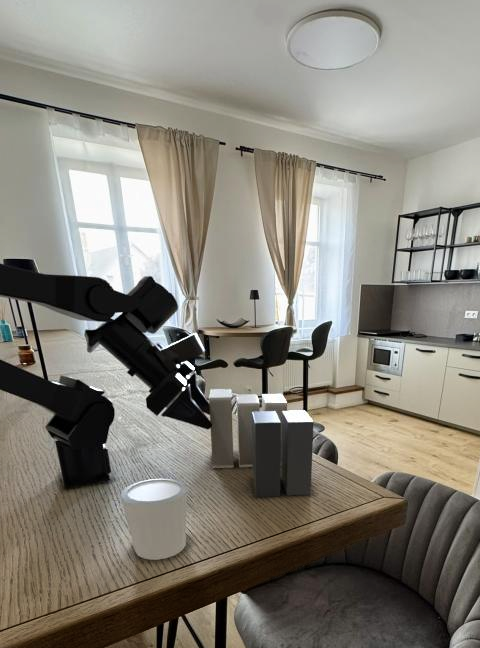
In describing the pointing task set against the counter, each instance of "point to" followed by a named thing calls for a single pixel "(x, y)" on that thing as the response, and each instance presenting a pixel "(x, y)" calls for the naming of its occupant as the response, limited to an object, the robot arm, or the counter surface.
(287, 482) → the grey book
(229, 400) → the tall cream square pillar
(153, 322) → the robot arm
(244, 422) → the grey tall rectangular block
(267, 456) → the tall grey rectangular block
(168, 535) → the white cup
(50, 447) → the counter surface
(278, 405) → the white book
